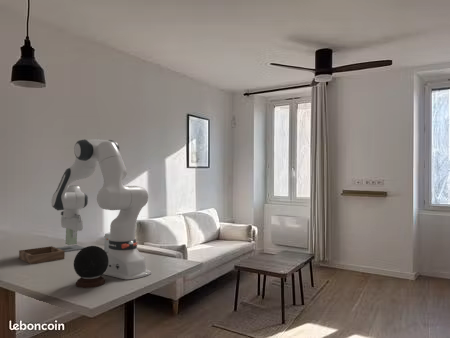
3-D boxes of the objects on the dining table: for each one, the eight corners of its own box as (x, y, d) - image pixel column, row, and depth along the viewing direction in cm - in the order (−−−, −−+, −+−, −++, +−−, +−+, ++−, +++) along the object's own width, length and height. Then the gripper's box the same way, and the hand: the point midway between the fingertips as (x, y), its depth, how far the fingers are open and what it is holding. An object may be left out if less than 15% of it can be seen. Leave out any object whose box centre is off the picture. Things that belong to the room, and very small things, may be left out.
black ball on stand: (111, 278, 144) (113, 243, 144) (102, 288, 131) (103, 249, 131) (80, 278, 143) (81, 242, 144) (67, 288, 130) (68, 249, 131)
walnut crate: (64, 258, 176) (64, 250, 176) (30, 264, 164) (31, 255, 164) (51, 253, 186) (51, 246, 186) (19, 258, 174) (19, 250, 174)
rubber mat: (85, 248, 200) (85, 247, 200) (65, 251, 191) (65, 250, 191) (76, 245, 208) (76, 244, 208) (56, 248, 199) (56, 247, 199)
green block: (76, 244, 199) (77, 228, 200) (68, 245, 196) (69, 229, 196) (73, 242, 202) (73, 227, 203) (65, 243, 199) (66, 228, 199)
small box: (121, 250, 198) (122, 232, 198) (117, 252, 192) (118, 234, 192) (108, 250, 198) (108, 232, 199) (103, 252, 193) (104, 233, 193)
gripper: (86, 214, 195) (85, 238, 195) (69, 211, 209) (69, 234, 208) (75, 215, 191) (74, 240, 190) (59, 212, 204) (58, 235, 204)
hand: (71, 236), depth 199 cm, fingers closed on green block, 4 cm apart
